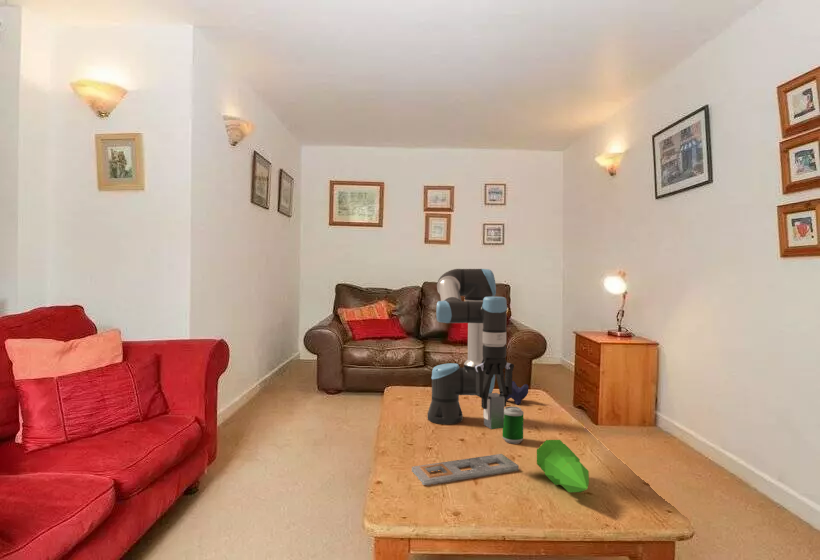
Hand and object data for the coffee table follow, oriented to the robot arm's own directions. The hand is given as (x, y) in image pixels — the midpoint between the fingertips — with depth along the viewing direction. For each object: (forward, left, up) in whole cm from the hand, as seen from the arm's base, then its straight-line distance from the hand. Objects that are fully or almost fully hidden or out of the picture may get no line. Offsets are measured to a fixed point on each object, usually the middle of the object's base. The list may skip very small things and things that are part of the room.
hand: (493, 417), depth 141 cm
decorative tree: (+18, +12, -16) cm, 27 cm away
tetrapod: (-63, +50, -16) cm, 82 cm away
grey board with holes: (0, -10, -16) cm, 19 cm away
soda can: (-18, +19, -16) cm, 30 cm away
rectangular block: (0, 0, -3) cm, 3 cm away
